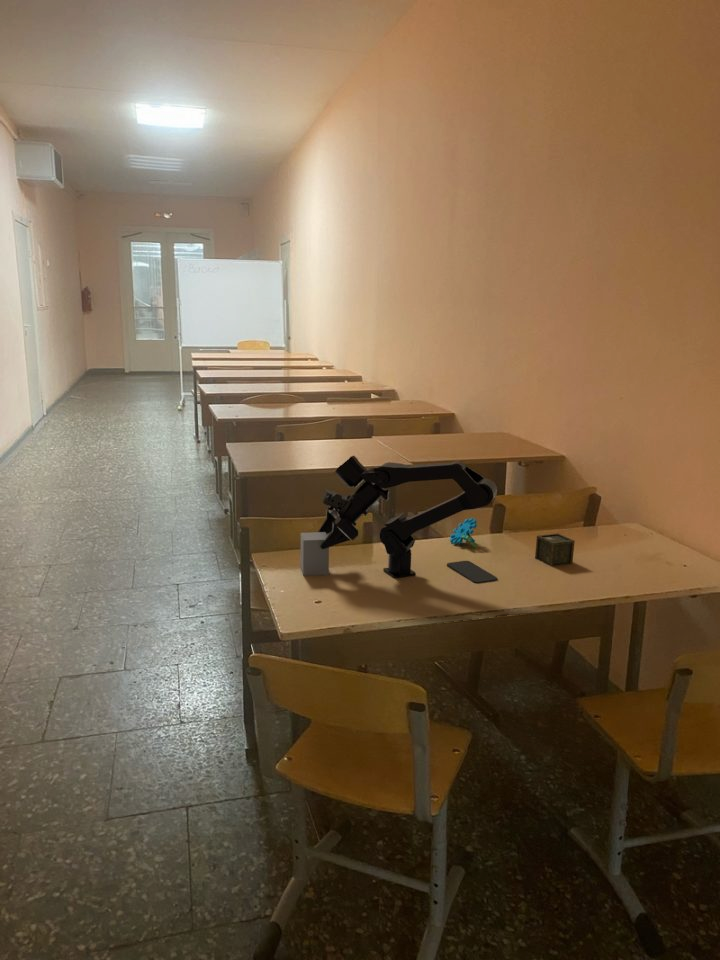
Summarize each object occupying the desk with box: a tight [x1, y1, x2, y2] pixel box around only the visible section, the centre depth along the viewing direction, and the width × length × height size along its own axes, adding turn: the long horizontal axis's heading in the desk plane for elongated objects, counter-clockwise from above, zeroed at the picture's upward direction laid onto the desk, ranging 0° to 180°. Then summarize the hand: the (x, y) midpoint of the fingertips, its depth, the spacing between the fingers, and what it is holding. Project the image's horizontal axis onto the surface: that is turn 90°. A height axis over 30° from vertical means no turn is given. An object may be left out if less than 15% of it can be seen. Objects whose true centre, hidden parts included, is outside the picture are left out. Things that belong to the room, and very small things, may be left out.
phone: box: [446, 560, 498, 584], centre depth 188 cm, size 7×1×15 cm
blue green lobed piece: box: [449, 517, 478, 548], centre depth 212 cm, size 11×6×10 cm
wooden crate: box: [534, 533, 575, 567], centre depth 198 cm, size 7×7×7 cm
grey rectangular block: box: [299, 531, 330, 577], centre depth 185 cm, size 7×7×10 cm
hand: (319, 542), depth 185 cm, fingers open, 9 cm apart
